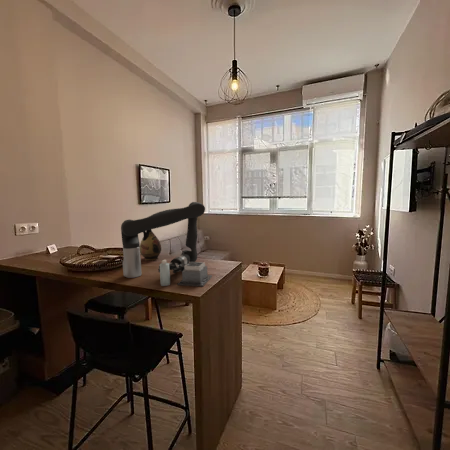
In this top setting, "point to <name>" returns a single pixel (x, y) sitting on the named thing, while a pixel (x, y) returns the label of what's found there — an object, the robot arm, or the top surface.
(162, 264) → the bottle
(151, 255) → the ceramic jug
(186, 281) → the grey socket base
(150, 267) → the top surface
